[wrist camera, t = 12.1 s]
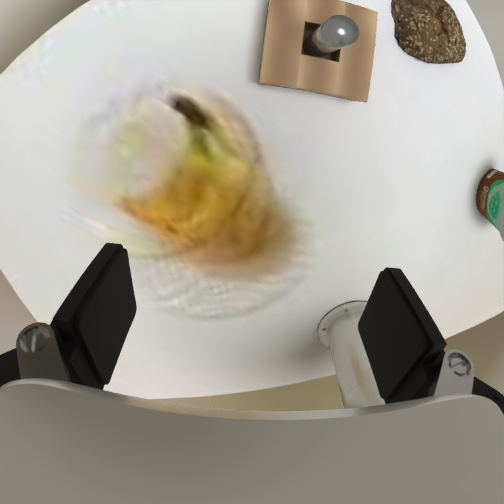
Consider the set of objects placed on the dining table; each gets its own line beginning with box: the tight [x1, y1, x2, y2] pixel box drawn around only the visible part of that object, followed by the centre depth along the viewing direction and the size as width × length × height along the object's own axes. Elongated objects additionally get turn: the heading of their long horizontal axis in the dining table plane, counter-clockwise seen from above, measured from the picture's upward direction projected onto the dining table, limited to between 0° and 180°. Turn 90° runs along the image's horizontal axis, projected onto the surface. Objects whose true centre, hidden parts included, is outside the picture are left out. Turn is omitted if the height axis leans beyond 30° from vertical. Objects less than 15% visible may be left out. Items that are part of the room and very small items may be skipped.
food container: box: [476, 169, 504, 241], centre depth 32 cm, size 12×6×10 cm, turn 21°
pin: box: [303, 15, 359, 58], centre depth 22 cm, size 3×3×11 cm
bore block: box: [259, 0, 378, 103], centre depth 25 cm, size 12×12×5 cm
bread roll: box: [391, 0, 466, 64], centre depth 21 cm, size 13×12×5 cm
